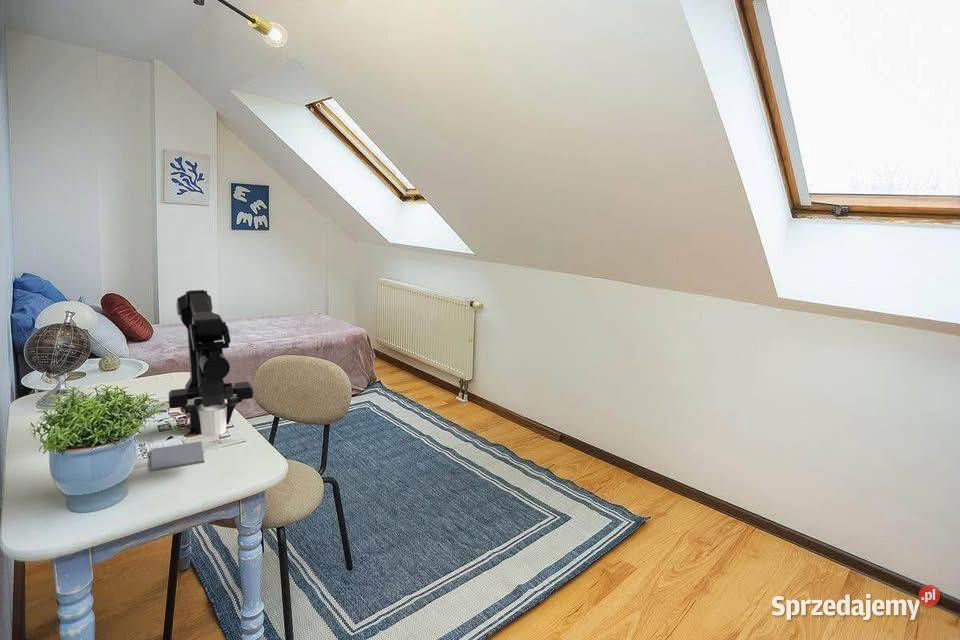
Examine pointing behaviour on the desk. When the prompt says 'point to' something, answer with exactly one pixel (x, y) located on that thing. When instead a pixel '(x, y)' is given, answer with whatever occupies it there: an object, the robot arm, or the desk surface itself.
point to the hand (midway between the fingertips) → (213, 425)
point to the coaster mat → (176, 456)
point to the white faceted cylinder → (212, 419)
